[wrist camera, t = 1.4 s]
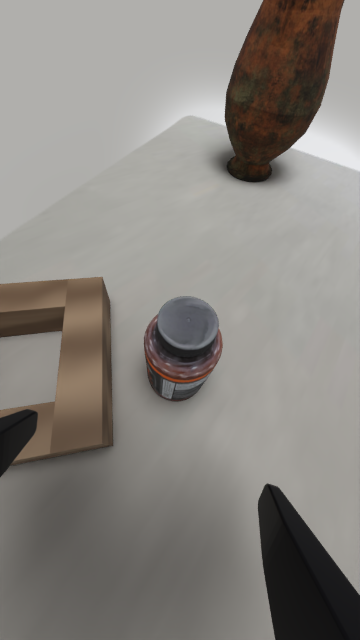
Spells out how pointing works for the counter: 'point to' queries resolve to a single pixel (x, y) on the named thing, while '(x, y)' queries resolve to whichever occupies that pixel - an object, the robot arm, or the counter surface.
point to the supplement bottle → (182, 347)
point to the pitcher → (278, 81)
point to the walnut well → (66, 362)
